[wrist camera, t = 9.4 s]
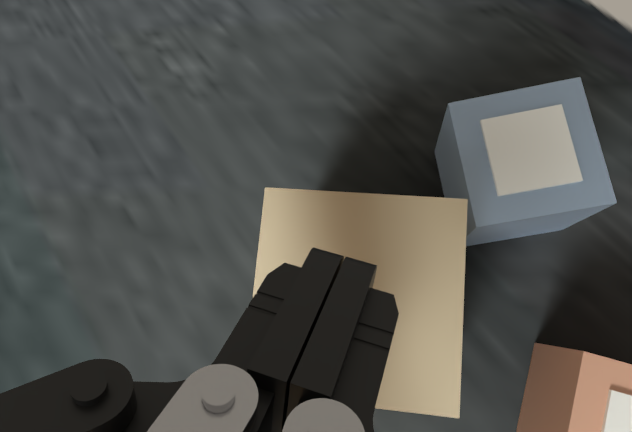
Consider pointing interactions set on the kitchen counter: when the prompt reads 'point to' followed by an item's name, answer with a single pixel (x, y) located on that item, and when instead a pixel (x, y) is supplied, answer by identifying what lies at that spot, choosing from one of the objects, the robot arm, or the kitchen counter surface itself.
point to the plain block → (388, 277)
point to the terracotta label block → (576, 392)
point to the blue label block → (523, 161)
